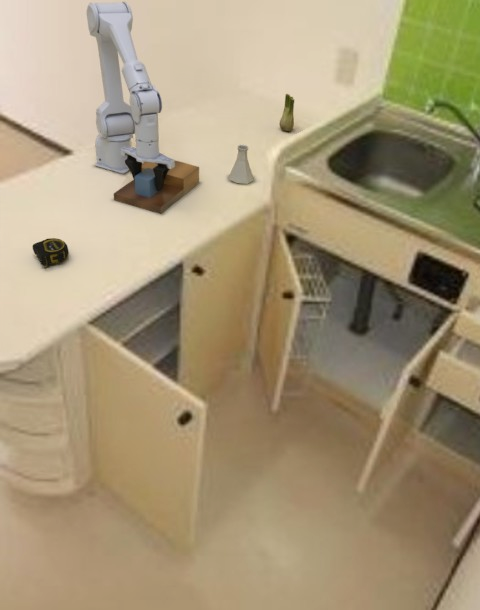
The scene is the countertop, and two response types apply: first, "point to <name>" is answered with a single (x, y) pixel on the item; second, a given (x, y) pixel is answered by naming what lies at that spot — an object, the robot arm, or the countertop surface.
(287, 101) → the fennel bulb
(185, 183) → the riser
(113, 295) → the countertop surface
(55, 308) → the countertop surface
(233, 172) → the flask
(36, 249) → the tape measure
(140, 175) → the blue box
